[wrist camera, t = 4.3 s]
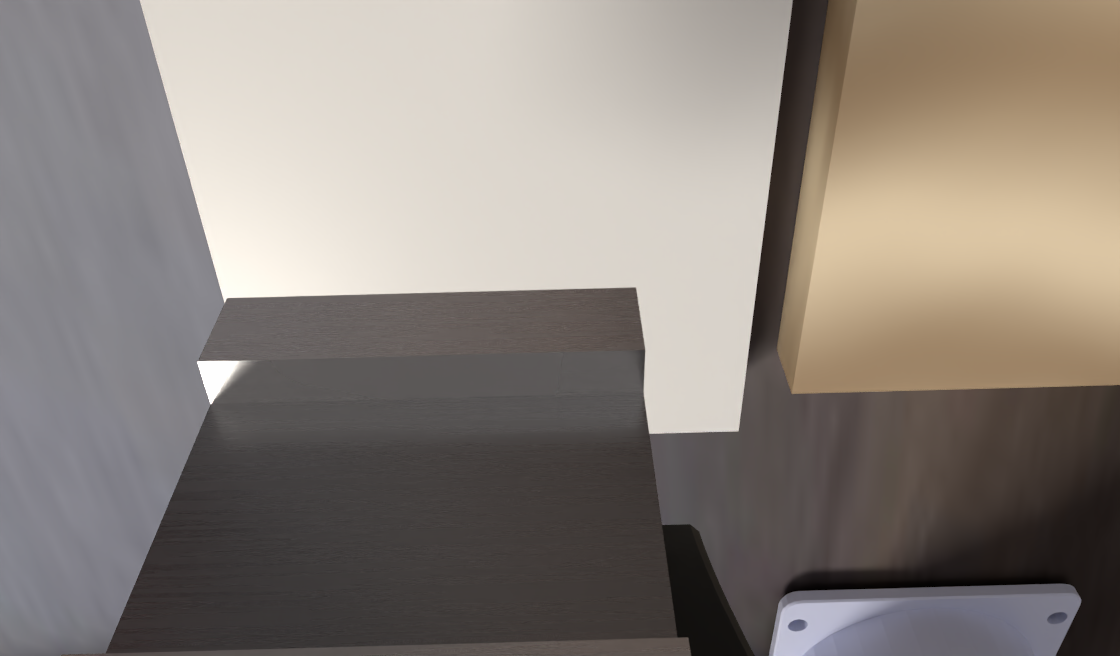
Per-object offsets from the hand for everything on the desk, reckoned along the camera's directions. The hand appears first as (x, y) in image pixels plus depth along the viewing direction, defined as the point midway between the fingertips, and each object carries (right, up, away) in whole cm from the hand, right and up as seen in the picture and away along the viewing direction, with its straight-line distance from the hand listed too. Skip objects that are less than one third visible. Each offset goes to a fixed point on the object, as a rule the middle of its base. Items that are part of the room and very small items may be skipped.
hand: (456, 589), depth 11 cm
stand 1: (0, +6, +8) cm, 9 cm away
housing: (0, 0, +1) cm, 1 cm away
